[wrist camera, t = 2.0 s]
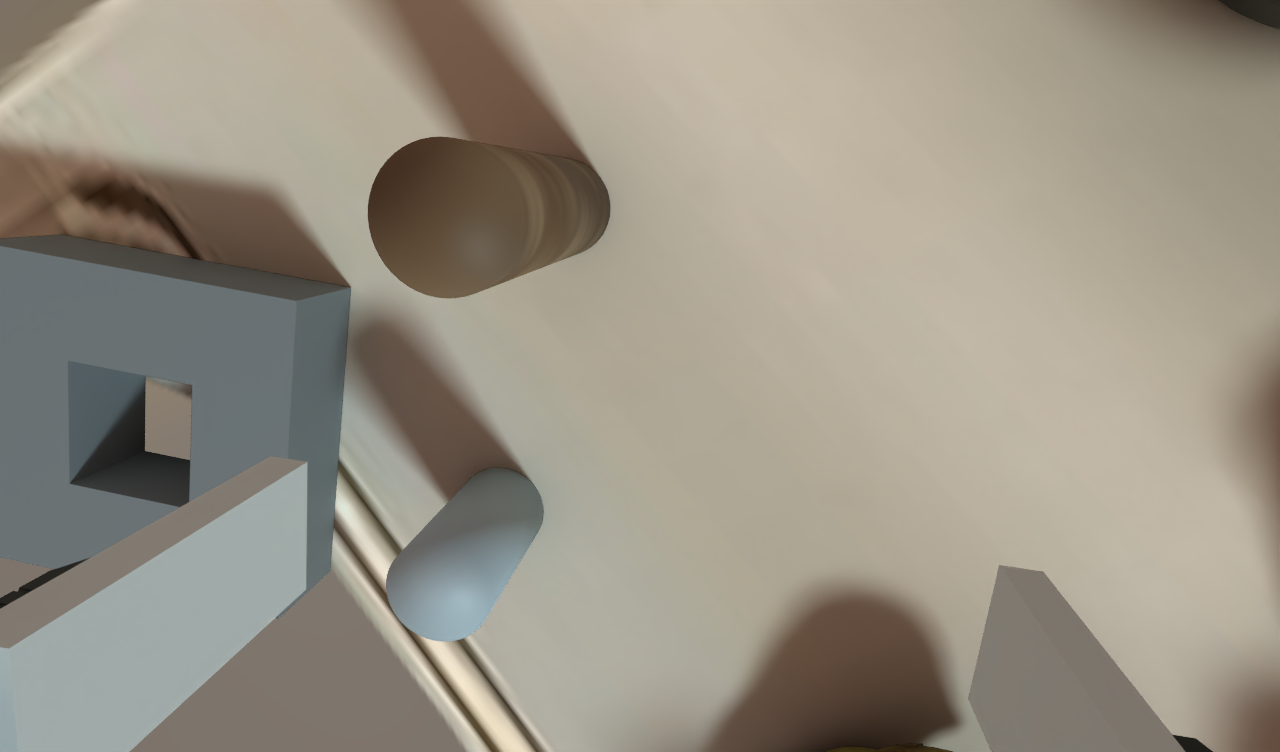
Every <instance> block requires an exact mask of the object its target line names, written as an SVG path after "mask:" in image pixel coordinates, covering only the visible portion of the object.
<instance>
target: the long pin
mask: <svg viewBox="0 0 1280 752" xmlns="http://www.w3.org/2000/svg"><path fill="white" fill-rule="evenodd" d="M609 217H610V200H609V195H608V192H607V189H606V187H605V184H604V183H603V181H602V179H601V178H600V177H599V176H598V174H597V173H596V172H595V171H594V170H593V169H591V168H590V167H589V166H587V165H585V164H584V163H582V162H579V161H577V160H573V159H568V158H562V157H557V156H551V155H546V154H540V153H534V152H529V151H523V150H518V149H512V148H506V147H501V146H495V145H490V144H484V143H478V142H473V141H467V140H462V139H456V138H449V137H430V138H425V139H420V140H417V141H415V142H412V143H410V144H408V145H406V146H404V147H402V148H401V149H400V150H398V151H397V152H395V153H394V154H393V155H392V156H391V157H390V158H389V159H388V160H387V161H386V162H385V164H384V165H383V166H382V168H381V169H380V171H379V173H378V174H377V176H376V178H375V181H374V183H373V185H372V189H371V192H370V196H369V203H368V222H369V229H370V233H371V237H372V240H373V243H374V246H375V248H376V250H377V252H378V254H379V256H380V258H381V259H382V261H383V262H384V264H385V265H386V266H387V268H388V269H389V270H390V271H391V272H392V273H393V274H394V275H395V276H396V277H397V278H398V279H399V280H400V281H402V282H403V283H404V284H406V285H407V286H409V287H410V288H412V289H414V290H416V291H418V292H421V293H423V294H426V295H429V296H433V297H439V298H459V297H465V296H468V295H472V294H475V293H477V292H480V291H483V290H485V289H488V288H490V287H493V286H495V285H498V284H501V283H503V282H506V281H508V280H511V279H514V278H516V277H519V276H521V275H524V274H527V273H529V272H532V271H534V270H537V269H539V268H542V267H545V266H547V265H550V264H552V263H555V262H558V261H560V260H563V259H565V258H568V257H571V256H573V255H576V254H578V253H581V252H583V251H585V250H587V249H589V248H590V247H592V246H593V245H594V244H595V243H596V242H597V241H598V240H599V239H600V238H601V236H602V235H603V233H604V231H605V229H606V227H607V224H608V221H609Z"/></svg>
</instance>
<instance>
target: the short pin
mask: <svg viewBox="0 0 1280 752" xmlns="http://www.w3.org/2000/svg"><path fill="white" fill-rule="evenodd" d="M543 515H544V509H543V503H542V499H541V496H540V494H539V492H538V490H537V489H536V487H535V486H534V485H533V484H532V483H531V482H530V481H529V480H528V479H527V478H526V477H524V476H523V475H521V474H520V473H518V472H516V471H513V470H510V469H505V468H490V469H486V470H483V471H481V472H479V473H477V474H475V475H474V476H473V477H472V478H471V479H470V480H469V481H468V482H467V483H466V484H465V485H464V486H463V487H462V488H461V489H460V490H459V491H458V492H457V493H456V494H455V496H454V497H453V498H452V499H451V500H450V501H449V502H448V503H447V504H446V505H445V506H444V507H443V508H442V509H441V510H440V511H439V513H438V514H437V515H436V516H435V517H434V518H433V519H432V520H431V521H430V522H429V523H428V524H427V525H426V526H425V527H424V528H423V529H422V531H421V532H420V533H419V534H418V535H417V536H416V537H415V538H414V539H413V540H412V541H411V542H410V543H409V544H408V545H407V546H406V548H405V549H404V550H403V551H402V552H401V553H400V554H399V555H398V556H397V557H396V558H395V560H394V561H393V562H392V564H391V566H390V568H389V571H388V574H387V580H386V590H387V596H388V600H389V603H390V605H391V608H392V609H393V611H394V613H395V614H396V616H397V617H398V619H399V620H400V621H401V622H402V623H403V624H404V625H405V626H406V627H407V628H409V629H410V630H411V631H413V632H414V633H416V634H418V635H420V636H422V637H425V638H428V639H431V640H436V641H454V640H459V639H462V638H465V637H467V636H469V635H471V634H472V633H473V632H475V631H476V630H477V629H478V628H479V627H480V626H481V625H482V624H483V622H484V621H485V619H486V618H487V616H488V614H489V613H490V611H491V609H492V608H493V606H494V604H495V603H496V601H497V599H498V598H499V596H500V594H501V593H502V591H503V589H504V588H505V586H506V584H507V583H508V581H509V579H510V578H511V576H512V574H513V573H514V571H515V569H516V568H517V566H518V564H519V563H520V561H521V559H522V558H523V556H524V554H525V553H526V551H527V549H528V548H529V546H530V544H531V543H532V541H533V539H534V538H535V536H536V534H537V533H538V531H539V529H540V527H541V524H542V521H543Z"/></svg>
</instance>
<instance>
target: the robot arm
mask: <svg viewBox="0 0 1280 752" xmlns="http://www.w3.org/2000/svg"><path fill="white" fill-rule="evenodd" d="M1219 1H1221V2H1222V3H1224V4H1225V5H1227V6H1228V7H1230V8H1231V9H1233V10H1235V11H1237V12H1238V13H1240V14H1242V15H1244V16H1246V17H1248V18H1251V19H1253V20H1255V21H1257V22H1260V23H1263V24H1265V25H1268V26H1271V27H1274V28H1278V29H1280V0H1219ZM306 557H307V462H306V461H299V460H292V459H286V458H279V457H272V456H270V457H268V458H266V459H265V460H263V461H261V462H259V463H258V464H256V465H254V466H252V467H250V468H249V469H247V470H245V471H243V472H242V473H240V474H238V475H236V476H235V477H233V478H231V479H229V480H227V481H226V482H224V483H222V484H220V485H219V486H217V487H215V488H213V489H212V490H210V491H208V492H206V493H204V494H203V495H201V496H199V497H197V498H196V499H194V500H192V501H190V502H188V503H187V504H185V505H183V506H181V507H180V508H178V509H176V510H174V511H173V512H171V513H169V514H167V515H165V516H164V517H162V518H160V519H158V520H157V521H155V522H153V523H151V524H150V525H148V526H146V527H144V528H142V529H141V530H139V531H137V532H135V533H134V534H132V535H130V536H128V537H127V538H125V539H123V540H121V541H119V542H118V543H116V544H114V545H112V546H111V547H109V548H107V549H105V550H104V551H102V552H100V553H98V554H96V555H95V556H93V557H91V558H87V559H84V560H81V561H78V562H75V563H72V564H69V565H66V566H63V567H60V568H57V569H54V570H51V571H49V572H47V573H45V574H43V575H42V576H40V577H38V578H36V579H34V580H32V581H31V582H29V583H27V584H25V585H23V586H21V587H20V588H19V590H18V592H15V591H12V592H11V593H9V594H7V595H5V596H3V597H1V598H0V752H129V751H130V750H132V749H133V748H134V747H135V746H136V745H137V744H138V743H139V742H140V741H141V740H143V738H145V737H146V736H147V735H148V734H149V733H150V732H151V731H152V730H153V729H154V728H156V727H157V726H158V725H159V724H160V723H161V722H162V721H163V720H164V719H165V718H167V717H168V716H169V715H170V714H171V713H172V712H173V711H174V710H175V709H176V708H177V707H179V706H180V704H182V703H183V702H184V701H185V700H186V699H187V698H188V697H189V696H191V695H192V694H193V693H194V692H195V691H196V690H197V689H198V688H199V687H200V686H201V685H203V684H204V683H205V682H206V681H207V680H208V679H209V678H210V677H211V676H212V675H213V674H214V673H215V672H217V671H218V670H219V669H220V668H221V667H222V666H223V665H224V664H225V663H226V662H228V660H230V659H231V658H232V657H233V656H234V655H235V654H236V653H237V652H238V651H240V650H241V649H242V648H243V647H244V646H245V645H246V644H247V643H248V642H249V641H250V640H251V639H253V638H254V637H255V636H256V635H257V634H258V633H259V632H260V631H261V630H262V629H263V628H265V627H266V626H267V625H268V624H269V623H270V622H271V621H272V620H273V619H274V618H276V617H277V616H278V615H279V614H280V613H281V612H282V611H283V610H284V609H285V608H286V607H288V606H289V605H290V604H291V603H292V602H293V601H294V600H295V599H296V598H297V597H298V596H300V595H301V594H302V593H303V592H304V591H305V590H306ZM968 699H969V702H970V704H971V706H972V708H973V711H974V713H975V715H976V717H977V720H978V722H979V724H980V726H981V729H982V731H983V733H984V735H985V738H986V740H987V742H988V744H989V747H990V749H991V751H992V752H1213V751H1211V750H1210V749H1209V748H1207V747H1206V746H1205V745H1203V744H1202V743H1201V742H1199V741H1198V740H1197V739H1195V738H1189V737H1183V736H1176V735H1172V734H1171V733H1170V732H1169V730H1168V729H1167V728H1166V726H1165V725H1164V724H1163V723H1162V721H1161V720H1160V719H1159V718H1158V716H1157V715H1156V714H1155V713H1154V711H1153V710H1152V709H1151V707H1150V706H1149V705H1148V704H1147V702H1146V701H1145V700H1144V699H1143V697H1142V696H1141V695H1140V694H1139V692H1138V691H1137V690H1136V689H1135V687H1134V686H1133V685H1132V683H1131V682H1130V681H1129V680H1128V678H1127V677H1126V676H1125V675H1124V673H1123V672H1122V671H1121V670H1120V668H1119V667H1118V666H1117V664H1116V663H1115V662H1114V661H1113V659H1112V658H1111V657H1110V656H1109V654H1108V653H1107V652H1106V651H1105V649H1104V648H1103V647H1102V645H1101V644H1100V643H1099V642H1098V640H1097V639H1096V638H1095V637H1094V635H1093V634H1092V633H1091V632H1090V630H1089V629H1088V628H1087V626H1086V625H1085V624H1084V623H1083V621H1082V620H1081V619H1080V618H1079V616H1078V615H1077V614H1076V613H1075V611H1074V610H1073V609H1072V607H1071V606H1070V605H1069V604H1068V602H1067V601H1066V600H1065V599H1064V597H1063V596H1062V595H1061V594H1060V592H1059V591H1058V590H1057V588H1056V587H1055V586H1054V585H1053V583H1052V582H1051V581H1050V580H1049V578H1048V577H1047V576H1046V575H1045V573H1044V572H1042V571H1035V570H1028V569H1021V568H1015V567H1008V566H1001V565H999V569H998V573H997V577H996V581H995V586H994V590H993V594H992V599H991V603H990V607H989V612H988V616H987V620H986V625H985V629H984V633H983V637H982V642H981V646H980V650H979V655H978V659H977V663H976V668H975V672H974V676H973V681H972V685H971V689H970V693H969V698H968Z"/></svg>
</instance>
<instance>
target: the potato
mask: <svg viewBox="0 0 1280 752" xmlns="http://www.w3.org/2000/svg"><path fill="white" fill-rule="evenodd" d="M826 752H952V751H948V750H944V749H939V748H934V747H927V746H923V744H921V743H909V744H897V745H896V746H891V747H886V748H882V749H879V750H876V749H870V748H864V747H854V746H853V747H842V748H837V749H833V750H829V751H826Z"/></svg>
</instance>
